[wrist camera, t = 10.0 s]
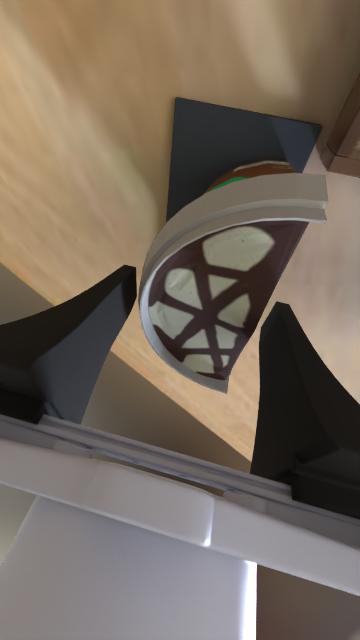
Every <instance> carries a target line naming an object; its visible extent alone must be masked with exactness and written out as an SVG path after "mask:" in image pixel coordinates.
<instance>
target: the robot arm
mask: <svg viewBox="0 0 360 640" xmlns="http://www.w3.org/2000/svg"><path fill="white" fill-rule="evenodd" d="M136 297H137V285H136V267H133V266H128V265H123V266H122V267H120V268H119V269H117V270H116V271H115V272H113V273H112V274H110V275H109V276H107V277H106V278H105V279H103V280H102V281H100V282H99V283H97V284H96V285H94V286H92V287H91V288H89V289H88V290H86V291H84V292H83V293H81V294H79V295H77V296H76V297H74V298H72V299H70V300H68V301H66V302H64V303H62V304H59V305H57V306H55V307H52V308H50V309H47V310H45V311H43V312H40V313H38V314H35V315H32V316H29V317H26V318H23V319H20V320H17V321H14V322H10V323H7V324H3V325H0V483H1V484H4V485H8V486H11V487H14V488H18V489H21V490H24V491H27V492H30V493H33V494H36V495H37V496H36V498H35V500H34V502H33V504H32V506H31V508H30V510H29V512H28V514H27V516H26V518H25V519H24V521H23V523H22V525H21V527H20V529H19V531H18V533H17V535H16V537H15V539H14V541H13V543H12V545H11V546H10V548H9V551H8V552H7V554H6V556H5V558H4V560H3V562H2V564H1V566H0V640H255V638H256V564H260V565H263V566H266V567H269V568H272V569H275V570H279V571H282V572H285V573H288V574H291V575H295V576H298V577H301V578H304V579H307V580H311V581H314V582H317V583H320V584H324V585H326V586H330V587H333V588H336V589H339V590H343V591H346V592H349V593H352V594H355V595H358V596H360V404H359V403H358V402H357V401H356V400H355V399H354V398H353V397H352V396H351V395H350V394H349V393H348V392H347V390H346V389H345V388H344V387H343V386H342V385H341V384H340V383H339V381H338V380H337V379H336V378H335V377H334V375H333V374H332V373H331V371H330V370H329V369H328V368H327V366H326V365H325V364H324V362H323V361H322V360H321V358H320V357H319V355H318V354H317V352H316V351H315V349H314V348H313V346H312V344H311V343H310V341H309V340H308V338H307V336H306V334H305V333H304V331H303V329H302V327H301V326H300V324H299V322H298V320H297V318H296V316H295V315H294V313H293V311H292V309H291V307H290V305H289V304H285V303H281V302H277V301H276V303H275V305H274V307H273V308H272V310H271V312H270V313H269V315H268V317H267V318H266V320H265V322H264V323H263V325H262V327H261V332H260V340H259V366H260V397H259V409H258V419H257V428H256V436H255V444H254V451H253V457H252V464H251V470H250V474H248V473H245V472H242V471H238V470H235V469H232V468H228V467H225V466H221V465H217V464H214V463H211V462H207V461H204V460H200V459H197V458H194V457H190V456H187V455H183V454H180V453H176V452H173V451H170V450H166V449H163V448H159V447H156V446H152V445H149V444H145V443H142V442H139V441H135V440H131V439H128V438H125V437H121V436H118V435H114V434H111V433H108V432H104V431H100V430H97V429H94V428H90V427H87V426H83V425H81V422H82V419H83V416H84V413H85V410H86V407H87V405H88V402H89V399H90V396H91V394H92V391H93V388H94V386H95V383H96V381H97V378H98V376H99V373H100V371H101V368H102V366H103V364H104V361H105V359H106V357H107V355H108V352H109V350H110V348H111V346H112V344H113V343H114V341H115V339H116V337H117V336H118V334H119V332H120V330H121V329H122V327H123V325H124V323H125V321H126V320H127V318H128V316H129V314H130V312H131V310H132V308H133V305H134V303H135V300H136ZM80 447H81V448H80ZM82 448H84V449H82ZM85 449H87V450H91V451H94V452H98V453H101V454H104V455H108V456H111V457H115V458H118V459H122V460H125V461H128V462H131V463H135V464H138V465H142V466H145V467H148V468H152V469H155V470H158V471H162V472H165V473H169V474H172V475H175V476H179V477H182V478H185V479H189V480H192V481H195V482H199V483H202V484H206V485H209V486H212V487H216V488H219V489H222V490H226V491H229V492H225V493H224V495H223V496H222V497H219V496H216V495H214V494H211V493H209V492H207V491H205V490H203V489H200V488H197V487H194V486H191V485H188V484H185V483H181V482H178V481H175V480H171V479H168V478H165V477H161V476H158V475H155V474H151V473H147V472H144V471H141V470H138V469H134V468H131V467H127V466H124V465H120V464H116V463H112V462H104V461H100V460H95V459H93V458H92V453H91V452H90V451H87V450H85Z"/></svg>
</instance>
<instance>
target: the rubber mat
mask: <svg viewBox="0 0 360 640" xmlns="http://www.w3.org/2000/svg"><path fill="white" fill-rule="evenodd" d="M322 127H323V126H322V125H319V124H314V123H309V122H303V121H298V120H293V119H288V118H283V117H277V116H272V115H267V114H262V113H257V112H251V111H246V110H241V109H236V108H231V107H225V106H220V105H215V104H210V103H205V102H200V101H194V100H189V99H184V98H179V97H176V99H175V112H174V125H173V139H172V152H171V165H170V178H169V191H168V204H167V218H166V223H167V222H168V221H169V220H170V219H171V218H172V217H173V216H175V215H176V214H177V213H178V212H179V211H180V210H181V209H182V208H184V207H185V206H186V205H188V204H190V203H191V202H193V201H194V200H196V199H198V198H199V197H201V196H202V195H203V193H204V192H205V191H206V190H207V189H208V188H209V187H210V186H211V184H212V183H213V182H214V181H215V180H216V179H217V178H218V177H220V176H221V175H223V174H225V173H226V172H228V171H230V170H231V169H233V168H235V167H236V166H238V165H240V164H244V163H249V162H253V161H257V160H262V159H266V158H268V159H280V160H287V161H288V162H289V164H290V165H291V166H292V168H293V169H294V171H295V172H296V173H302V172H303V169H304V167H305V165H306V163H307V160H308V158H309V156H310V154H311V152H312V149H313V147H314V145H315V143H316V140H317V138H318V136H319V134H320V131H321V129H322Z"/></svg>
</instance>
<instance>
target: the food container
mask: <svg viewBox="0 0 360 640" xmlns="http://www.w3.org/2000/svg"><path fill="white" fill-rule="evenodd" d="M327 203H328V195H327V187H326V178H325V175H313V174H302V173H296V172H295V171H294V169H293V168H292V166H291V165H290V164H289V162H288V161H287V160H280V159H268V158H266V159H262V160H257V161H253V162H249V163H244V164H240V165H238V166H236V167H235V168H233V169H231V170H230V171H228V172H226V173H225V174H223V175H221V176H220V177H218V178H217V179H216V180H215V181H214V182H213V183H212V184H211V186H210V187H209V188H208V189H207V190H206V191H205V192H204V193H203V195H202V196H201V197H199V198H198V199H196V200H194V201H193V202H191V203H190V204H188V205H186V206H185V207H184V208H182V209H181V210H180V211H179V212H178V213H177V214H176V215H175V216H173V217H172V218H171V219H170V220H169V221H168V222H167V223H166V224H165V226H164V227H163V228H162V230H161V231H160V232H159V233H158V235H157V236H156V237H155V239H154V241H153V243H152V245H151V247H150V249H149V251H148V253H147V256H146V259H145V263H144V267H143V271H142V276H141V281H140V287H139V299H138V303H139V310H140V319H141V325H142V328H143V331H144V334H145V337H146V338H147V340H148V342H149V343H150V345H151V347H152V348H153V349H154V351H155V352H156V353H157V354H158V356H159V357H160V358H161V359H162V360H163V361H164V362H165V363H167V364H168V365H169V366H170V367H171V368H173V369H174V370H175V371H177V372H178V373H180V374H181V375H183V376H185V377H186V378H188V379H190V380H192V381H194V382H196V383H198V384H200V385H202V386H205V387H207V388H210V389H213V390H216V391H219V392H222V393H225V394H227V389H228V381H229V375H230V373H231V370H232V368H233V366H234V364H235V362H236V360H237V358H238V357H239V355H240V353H241V352H242V350H243V348H244V347H245V345H246V344H247V342H248V341H249V339H250V337H251V336H252V334H253V333H254V331H255V329H256V327H257V324H258V322H259V320H260V318H261V316H262V314H263V311H264V309H265V307H266V305H267V303H268V301H269V299H270V297H271V295H272V293H273V291H274V289H275V287H276V285H277V283H278V281H279V279H280V277H281V275H282V273H283V271H284V269H285V267H286V266H287V264H288V262H289V260H290V258H291V256H292V254H293V252H294V250H295V248H296V246H297V244H298V243H299V241H300V239H301V237H302V235H303V233H304V231H305V229H306V227H307V225H308V223H309V222H317V223H326V222H327V218H326V215H325V212H324V208H325V207H326V205H327Z"/></svg>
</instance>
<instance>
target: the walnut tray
mask: <svg viewBox="0 0 360 640" xmlns="http://www.w3.org/2000/svg"><path fill="white" fill-rule="evenodd" d="M359 139H360V74H359V76H358V78H357V80H356V82H355V84H354V86H353V88H352V90H351V93H350V95H349V97H348V99H347V101H346V103H345V105H344V107H343V109H342V111H341V113H340V116H339V118H338V120H337V122H336V124H335V126H334V128H333V130H332V132H331V134H330V137H329V139H328V141H327V144H326V145H325V147H324V149H323V151H322V153H321V155H320V159H321V161H322V163H323V165H324V166H325V168H326V170H327V171H329V172H334V173H339V174H344V175H349V176H354V177H359V178H360V150H357V149H354V148H355V147H356V145H357V143H358V141H359Z"/></svg>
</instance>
